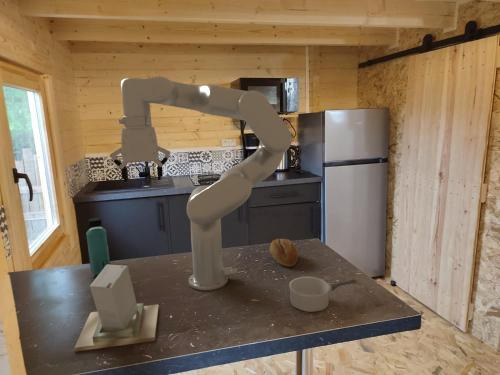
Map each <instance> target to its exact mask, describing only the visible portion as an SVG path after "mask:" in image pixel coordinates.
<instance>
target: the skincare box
mask: <svg viewBox="0 0 500 375" xmlns="http://www.w3.org/2000/svg"><path fill="white" fill-rule="evenodd" d="M131 278H132V277H131V275H130V271H129V266H128V265H120V264H117V265H116V264H111V265H109V264H107V265H106V266H105V267H104V269H103V270H102V271H101V272H100V274H97V276H96V277H95V278H94V280H93V281H92V282H91V283H90V285H89V289H90V292H91V295H92V298H93V301H94V304H95V308H96V312H98V315H99V318H100V321H101V324H102V328H103V330H104V331H121V330H126V329H127V327H128V325H129V324H130V322H131V320H132V319H133V317H134V315H135V313H136V311H137V310H138V306H137V304H138V303H137V299H136V296H135V290H134V287H133V282H132V279H131Z"/></svg>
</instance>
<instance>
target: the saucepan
mask: <svg viewBox="0 0 500 375" xmlns="http://www.w3.org/2000/svg"><path fill="white" fill-rule="evenodd" d="M356 283H357V280H356V279H354V278H353V279H346V280H342V281H341V280H340V281H337V282H334V283H328V282H327V281H326V280H324V279H322V278H319V277H314V276H301V277H300V276H299V277H296V278H294V279H292V280H291V281H289V284H288V287H289V289H290V290H289V291H290V298H289V299H290V303H291V305H292V307H294V308H296V309H298V310H301V311H303V312H309V313H310V312H311V313H313V312H320V311H323V310H324V309H327V307H328V306H329V302H330V301H329V294H330V293H329V292H330V291H332V292H333V291H335V290H336V289H337V288H339V287H341V286H345V285H350V284H356Z"/></svg>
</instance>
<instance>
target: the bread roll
mask: <svg viewBox="0 0 500 375" xmlns="http://www.w3.org/2000/svg"><path fill="white" fill-rule="evenodd" d="M268 251H269V253H270V255H271V256H272V257H273V259H274V260H275V261H276V262H277V263H278V264H280V265H282V266H284V267H290V268H291V267H293V266H294V265H296V263H297V261H298V258H299V252H298V250H297V247H296V245H295V244H294V243H293V242H292V241H291V240H290V239H288V238H287V239H286V238H277V239H276V238H275V239H274V240H272V241H271V243H270V246H269V250H268ZM294 267H295V266H294Z"/></svg>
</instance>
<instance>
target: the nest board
mask: <svg viewBox="0 0 500 375" xmlns="http://www.w3.org/2000/svg"><path fill="white" fill-rule="evenodd" d="M137 306H138V310H137V311H136V313H135V315H134V317H133V319H132V320H131V322H130V324H129V325H128V327H127V329H126V330H121V331H104V330H103V328H102V324H101V321H100V318H99V315H98V312H97V311H92V312H90V313H89V314H88V317H87V319H86V322H85V324H84V326H83V329H82V331H81V332H80V335H79V337H78V339H77V342H76V344H75V346H74V348H73V349H74V350H73V351H74V352H82V351H89V350H96V349H97V350H98V349H104V348H112V347H118V346H126V345H133V344H140V343H146V342H147V343H148V342H154V341H156V333H157V324H158V317H159V310H160V306H159V304H150V305H145V304H144V302H141V303H137Z"/></svg>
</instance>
